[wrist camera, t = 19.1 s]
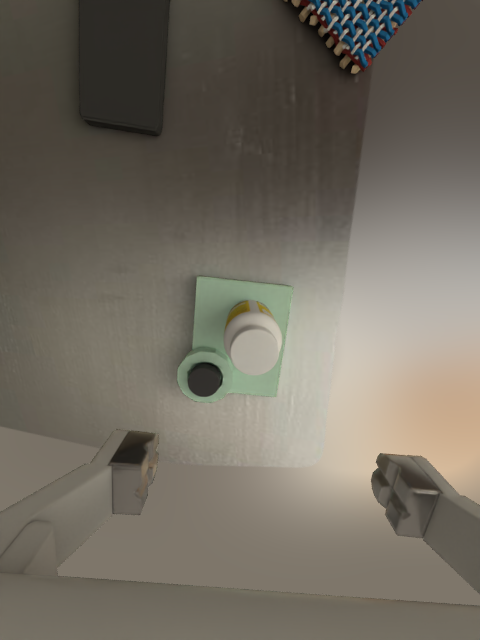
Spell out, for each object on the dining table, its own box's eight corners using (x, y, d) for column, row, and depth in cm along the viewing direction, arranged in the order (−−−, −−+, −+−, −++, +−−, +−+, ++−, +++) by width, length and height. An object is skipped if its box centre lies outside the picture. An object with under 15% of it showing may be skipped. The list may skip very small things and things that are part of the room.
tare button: (189, 388, 30) (186, 395, 29) (191, 361, 29) (188, 366, 28) (219, 391, 30) (218, 398, 29) (221, 364, 30) (220, 369, 28)
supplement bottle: (224, 340, 30) (216, 379, 21) (229, 296, 29) (224, 315, 19) (269, 346, 30) (282, 387, 21) (276, 302, 29) (294, 324, 20)
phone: (78, 117, 25) (77, -88, 21) (86, 124, 26) (86, -67, 23) (157, 130, 25) (169, -70, 22) (161, 137, 26) (173, -51, 23)
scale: (181, 387, 33) (175, 400, 30) (188, 274, 30) (182, 276, 27) (273, 396, 33) (277, 410, 31) (291, 285, 30) (296, 288, 27)
